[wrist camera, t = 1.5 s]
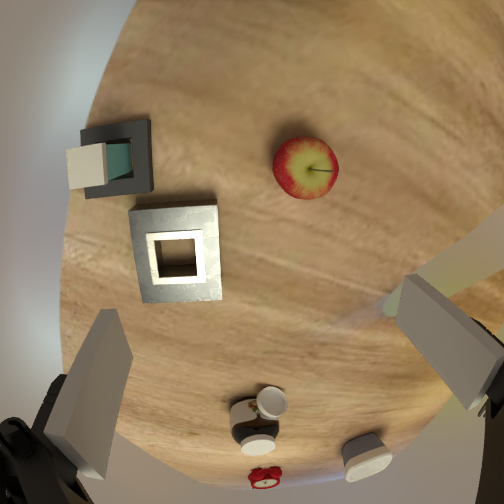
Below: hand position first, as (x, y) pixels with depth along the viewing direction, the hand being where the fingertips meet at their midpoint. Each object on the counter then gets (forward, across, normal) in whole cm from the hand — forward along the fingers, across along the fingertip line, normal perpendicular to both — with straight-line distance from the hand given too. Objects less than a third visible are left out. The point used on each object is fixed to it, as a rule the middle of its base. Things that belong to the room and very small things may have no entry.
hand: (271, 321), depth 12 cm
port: (+31, -8, -8) cm, 33 cm away
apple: (+31, +10, +3) cm, 33 cm away
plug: (+31, -16, +7) cm, 36 cm away
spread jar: (+31, +2, -44) cm, 54 cm away
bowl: (+31, +33, -79) cm, 91 cm away
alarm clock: (+31, +2, -86) cm, 91 cm away
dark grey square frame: (+31, -16, +7) cm, 36 cm away
